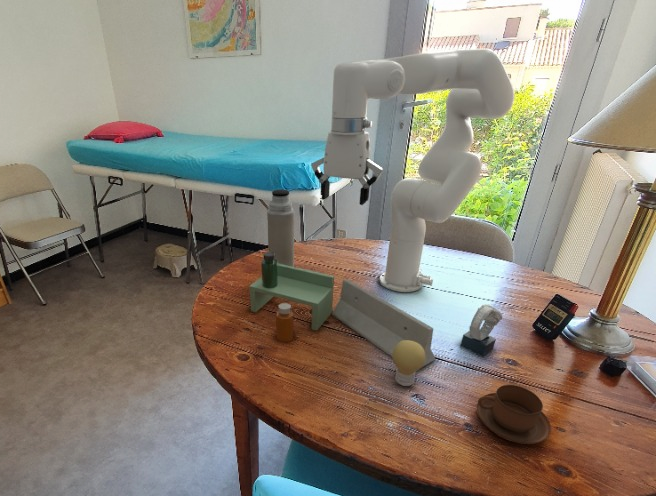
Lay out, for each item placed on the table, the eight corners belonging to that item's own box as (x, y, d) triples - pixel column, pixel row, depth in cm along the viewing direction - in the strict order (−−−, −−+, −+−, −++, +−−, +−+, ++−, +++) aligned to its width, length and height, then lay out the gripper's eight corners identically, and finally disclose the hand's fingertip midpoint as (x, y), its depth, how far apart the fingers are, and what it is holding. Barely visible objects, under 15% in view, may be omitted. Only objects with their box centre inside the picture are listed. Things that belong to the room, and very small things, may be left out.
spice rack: (332, 312, 110) (334, 275, 105) (317, 330, 103) (318, 292, 97) (268, 295, 119) (267, 260, 114) (250, 311, 111) (248, 275, 106)
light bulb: (421, 376, 87) (429, 338, 82) (417, 396, 82) (425, 357, 77) (391, 368, 89) (397, 331, 84) (385, 387, 84) (391, 348, 79)
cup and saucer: (493, 450, 70) (502, 425, 67) (464, 400, 80) (470, 376, 77) (562, 449, 70) (574, 424, 67) (524, 399, 80) (533, 375, 77)
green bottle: (280, 283, 109) (280, 252, 104) (272, 289, 105) (272, 258, 101) (267, 279, 110) (266, 249, 106) (259, 286, 107) (257, 255, 103)
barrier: (331, 315, 109) (333, 282, 104) (351, 307, 112) (354, 275, 107) (413, 371, 88) (420, 334, 83) (434, 360, 91) (442, 323, 87)
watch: (497, 346, 95) (509, 307, 90) (478, 360, 91) (490, 319, 86) (474, 335, 99) (485, 297, 94) (455, 348, 95) (465, 308, 90)
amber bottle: (296, 334, 101) (296, 304, 97) (288, 343, 98) (288, 312, 94) (281, 330, 103) (281, 300, 99) (273, 338, 100) (272, 307, 96)
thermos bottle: (270, 272, 132) (268, 187, 119) (294, 272, 132) (295, 187, 118) (267, 283, 125) (265, 194, 112) (293, 284, 125) (293, 195, 111)
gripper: (391, 125, 89) (383, 201, 97) (319, 122, 96) (317, 192, 105) (381, 129, 83) (373, 210, 91) (306, 126, 91) (305, 200, 99)
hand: (343, 200), depth 98 cm, fingers open, 9 cm apart
